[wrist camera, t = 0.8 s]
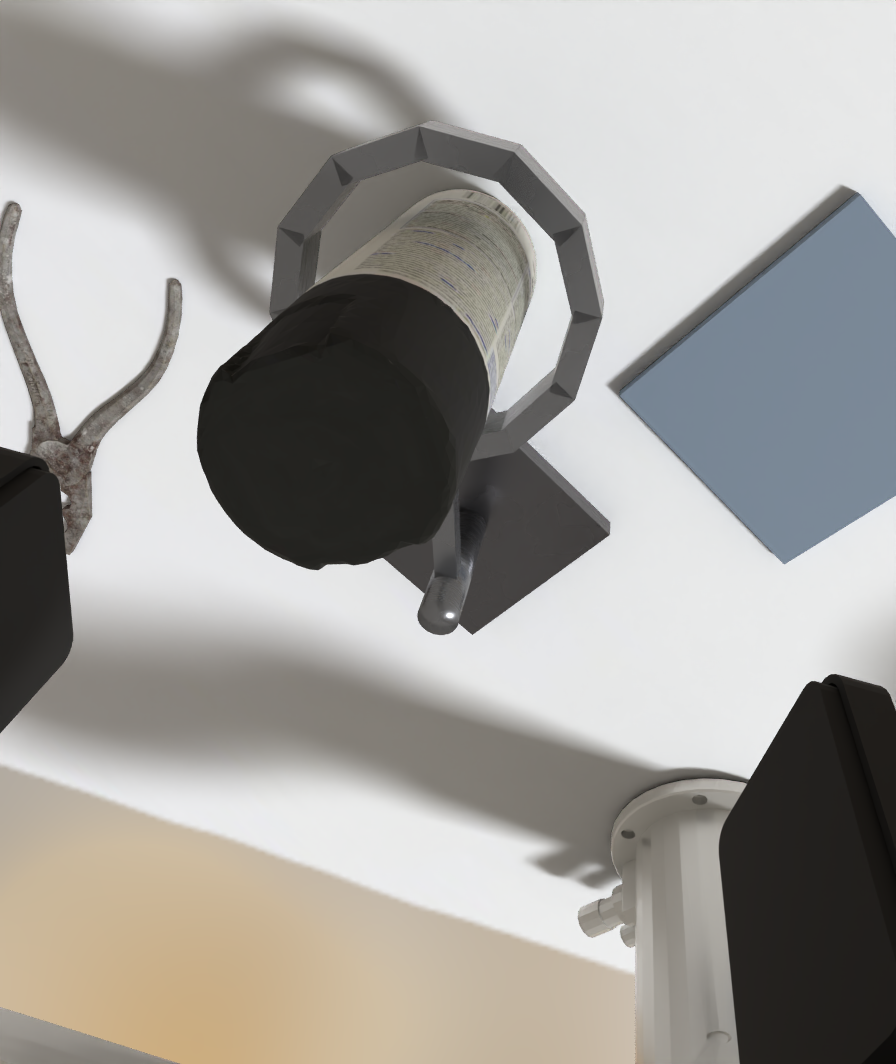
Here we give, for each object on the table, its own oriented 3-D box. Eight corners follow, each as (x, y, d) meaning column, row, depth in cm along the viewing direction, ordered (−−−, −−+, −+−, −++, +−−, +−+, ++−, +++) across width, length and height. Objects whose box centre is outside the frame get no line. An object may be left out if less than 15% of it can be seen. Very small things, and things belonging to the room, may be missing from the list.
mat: (782, 557, 41) (784, 564, 40) (619, 390, 38) (619, 395, 37) (1028, 404, 35) (1034, 409, 34) (857, 192, 32) (860, 194, 31)
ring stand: (475, 621, 46) (444, 737, 39) (195, 377, 42) (98, 454, 34) (781, 396, 36) (819, 492, 29) (458, 40, 32) (403, 45, 24)
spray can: (368, 214, 36) (134, 379, 19) (515, 160, 33) (396, 294, 17) (421, 355, 39) (259, 605, 22) (560, 314, 36) (496, 559, 20)
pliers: (178, 249, 38) (173, 584, 49) (187, 244, 39) (180, 576, 50) (-17, 197, 38) (21, 541, 49) (-5, 194, 39) (30, 533, 50)
